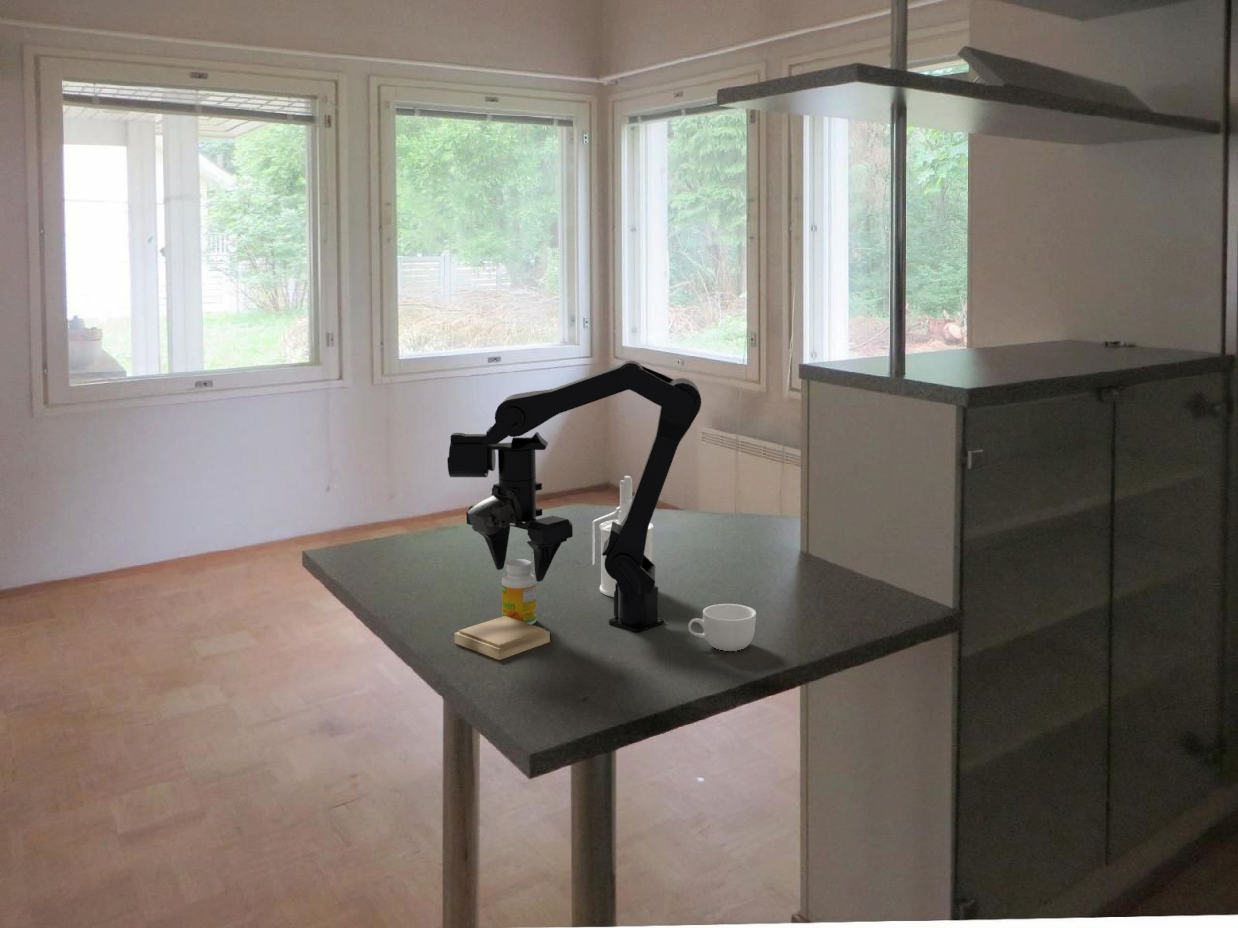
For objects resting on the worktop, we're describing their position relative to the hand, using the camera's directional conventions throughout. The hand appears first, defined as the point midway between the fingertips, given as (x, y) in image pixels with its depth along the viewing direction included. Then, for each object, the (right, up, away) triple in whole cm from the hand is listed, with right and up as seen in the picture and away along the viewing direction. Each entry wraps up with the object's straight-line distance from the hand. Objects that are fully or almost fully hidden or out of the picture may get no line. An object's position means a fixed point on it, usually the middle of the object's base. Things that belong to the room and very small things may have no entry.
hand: (519, 575), depth 174 cm
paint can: (+16, -5, +17) cm, 24 cm away
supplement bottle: (0, -8, +2) cm, 8 cm away
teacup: (+31, -10, -9) cm, 34 cm away
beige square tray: (-2, -9, -8) cm, 12 cm away
